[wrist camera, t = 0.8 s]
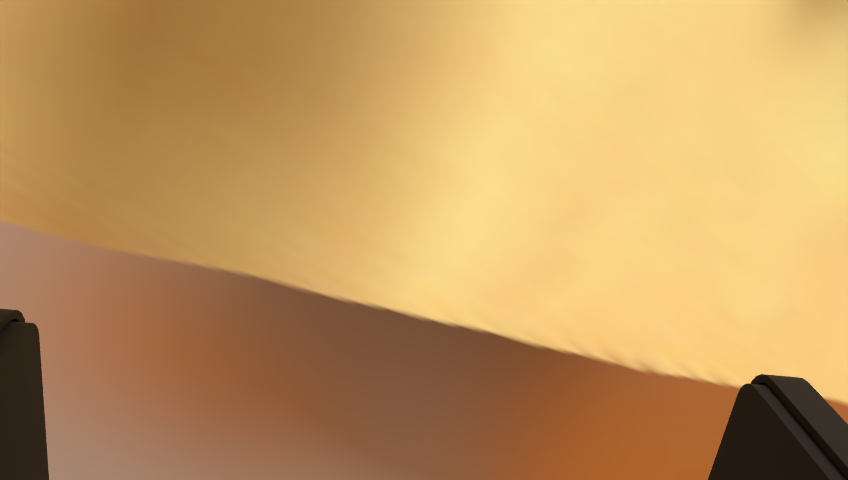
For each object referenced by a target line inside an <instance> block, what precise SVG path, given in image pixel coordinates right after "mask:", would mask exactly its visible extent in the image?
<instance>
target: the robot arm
mask: <svg viewBox="0 0 848 480" xmlns="http://www.w3.org/2000/svg"><path fill="white" fill-rule="evenodd" d="M0 480H49V473H48V459H47V444H46V430H45V415H44V400H43V386H42V371H41V358H40V342H39V332H38V328H37V326H36V325H35V324H34V323H25V319H24V317H23V315H22V313H21V312H20V311H18V310H8V309H0ZM708 480H848V424H847V423H846V422H845V421H844V420H843V419H842V418H841V417H840V416H839V415H838V414H837V412H836V411H835V410H834V409H833V408H832V407H831V406H830V405H829V404H828V403H827V402H826V401H825V400H824V399H823V398H822V396H821V395H820V394H819V393H818V392H817V391H816V390H815V389H814V388H813V387H812V386H811V385H810V384H809V383H808V382H807V381H806V380H804V379H803V378H798V377H786V376H775V375H763V374H761V375H758V376H756V377H755V378H754V379H753V380H752V382H751V384H745V385H743V386H742V387H741V388H740V391H739V393H738V395H737V398H736V401H735V404H734V406H733V410H732V412H731V415H730V418H729V421H728V424H727V426H726V429H725V432H724V435H723V438H722V441H721V444H720V447H719V450H718V453H717V455H716V458H715V461H714V464H713V467H712V470H711V472H710V475H709V478H708Z"/></svg>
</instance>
